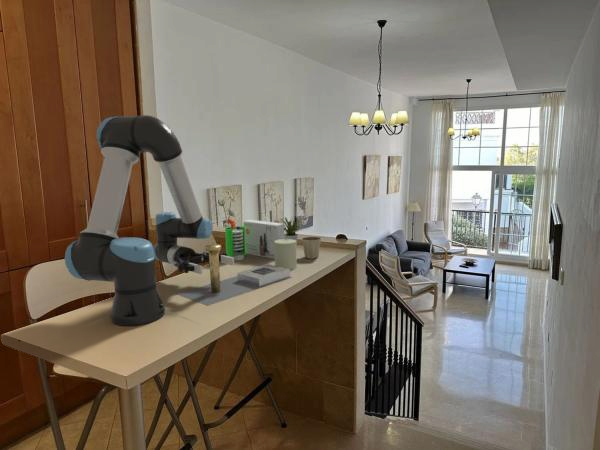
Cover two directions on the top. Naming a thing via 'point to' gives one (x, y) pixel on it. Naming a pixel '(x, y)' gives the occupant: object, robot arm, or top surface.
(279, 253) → the can
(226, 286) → the mat
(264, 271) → the grey flat rectangular block
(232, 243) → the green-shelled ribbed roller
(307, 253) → the flower pot
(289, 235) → the house plant
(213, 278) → the pin
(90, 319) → the top surface
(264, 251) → the skincare box
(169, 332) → the top surface
